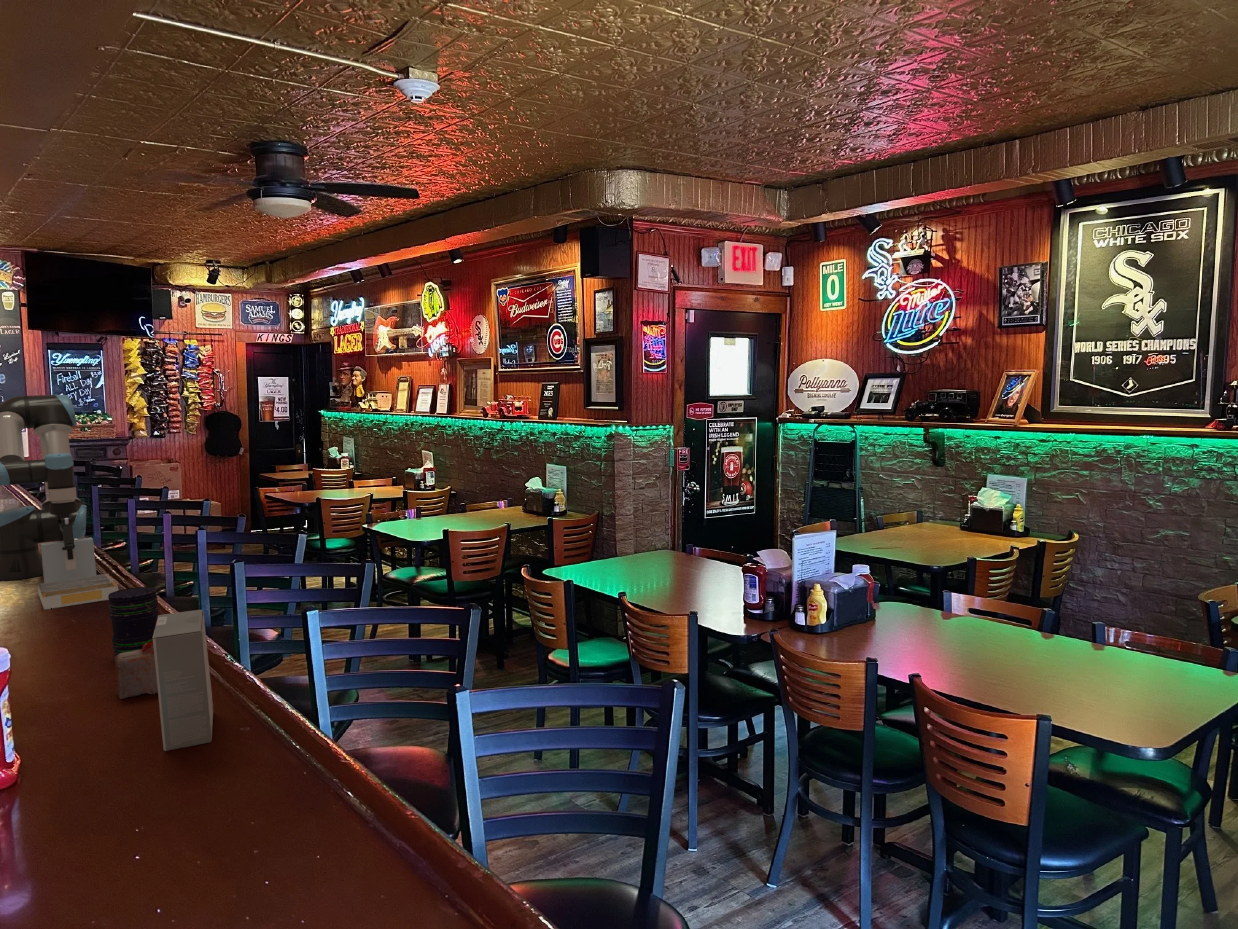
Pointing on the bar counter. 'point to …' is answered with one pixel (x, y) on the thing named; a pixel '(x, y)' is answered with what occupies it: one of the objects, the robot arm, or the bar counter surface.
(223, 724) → the bar counter surface
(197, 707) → the hard drive box
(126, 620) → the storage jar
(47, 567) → the blanking panel
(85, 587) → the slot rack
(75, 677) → the bar counter surface
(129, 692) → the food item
